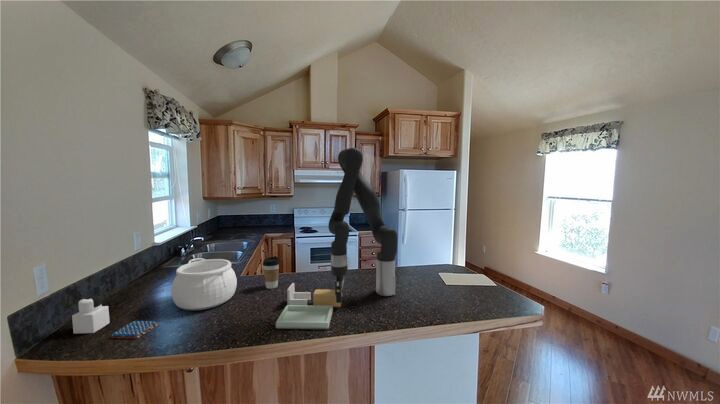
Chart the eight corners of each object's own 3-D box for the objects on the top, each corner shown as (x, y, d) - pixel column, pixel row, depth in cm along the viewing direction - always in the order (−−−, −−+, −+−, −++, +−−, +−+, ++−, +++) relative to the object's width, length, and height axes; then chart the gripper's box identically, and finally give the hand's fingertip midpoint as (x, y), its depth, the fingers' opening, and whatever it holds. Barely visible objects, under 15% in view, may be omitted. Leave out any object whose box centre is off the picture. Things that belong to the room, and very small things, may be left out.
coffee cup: (283, 284, 144) (282, 257, 143) (272, 290, 137) (271, 262, 135) (271, 282, 148) (270, 255, 147) (259, 287, 140) (259, 260, 139)
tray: (332, 311, 115) (332, 305, 115) (328, 329, 101) (328, 322, 101) (286, 310, 116) (286, 305, 116) (275, 328, 102) (275, 322, 102)
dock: (310, 299, 127) (310, 283, 126) (306, 307, 118) (306, 290, 118) (292, 299, 127) (292, 282, 126) (287, 307, 119) (287, 289, 118)
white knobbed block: (90, 323, 105) (88, 294, 104) (110, 323, 106) (108, 293, 105) (72, 334, 98) (70, 302, 97) (93, 333, 99) (91, 301, 98)
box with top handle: (342, 302, 124) (342, 289, 124) (341, 307, 119) (341, 294, 119) (315, 301, 125) (315, 289, 124) (313, 307, 120) (313, 294, 119)
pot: (247, 300, 126) (246, 264, 124) (182, 322, 106) (179, 280, 105) (224, 284, 145) (222, 253, 144) (165, 300, 126) (163, 264, 125)
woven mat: (160, 324, 105) (160, 319, 105) (137, 340, 95) (137, 335, 95) (135, 324, 106) (134, 319, 106) (109, 340, 95) (108, 334, 95)
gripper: (346, 268, 113) (346, 305, 115) (348, 258, 128) (349, 291, 129) (328, 268, 114) (329, 305, 115) (332, 258, 128) (333, 291, 129)
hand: (339, 298), depth 122 cm, fingers open, 8 cm apart
